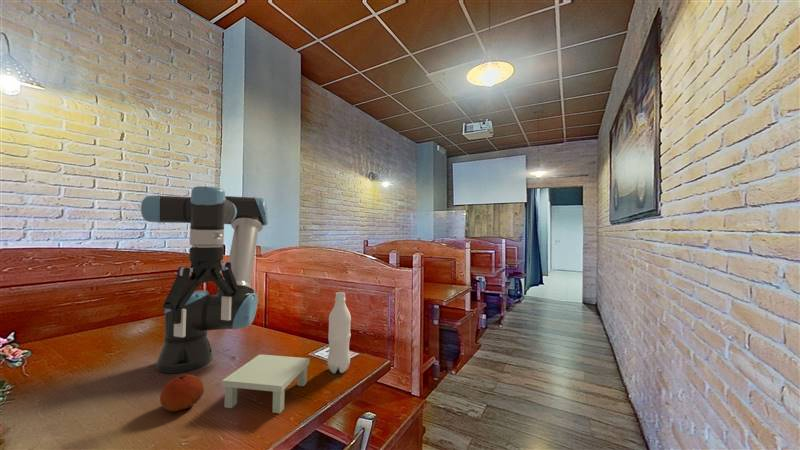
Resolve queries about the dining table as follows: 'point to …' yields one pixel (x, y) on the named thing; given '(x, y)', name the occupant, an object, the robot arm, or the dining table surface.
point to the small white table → (266, 378)
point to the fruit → (181, 392)
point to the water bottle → (339, 335)
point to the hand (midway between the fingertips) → (204, 327)
